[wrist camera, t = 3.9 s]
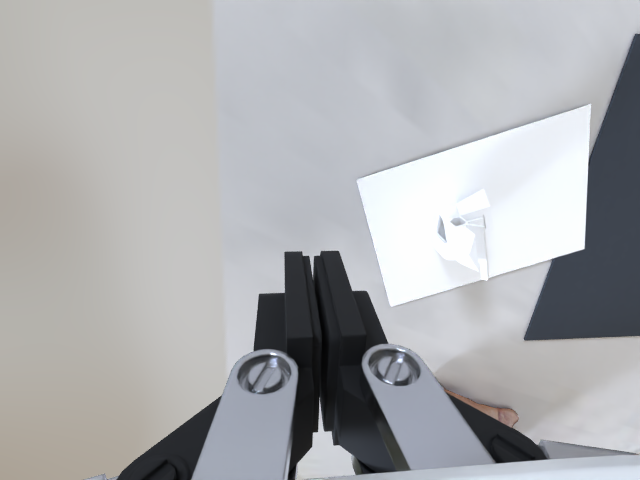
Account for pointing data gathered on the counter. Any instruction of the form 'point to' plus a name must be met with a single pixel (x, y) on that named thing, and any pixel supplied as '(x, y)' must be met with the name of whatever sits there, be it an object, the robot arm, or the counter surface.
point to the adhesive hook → (480, 207)
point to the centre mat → (603, 233)
